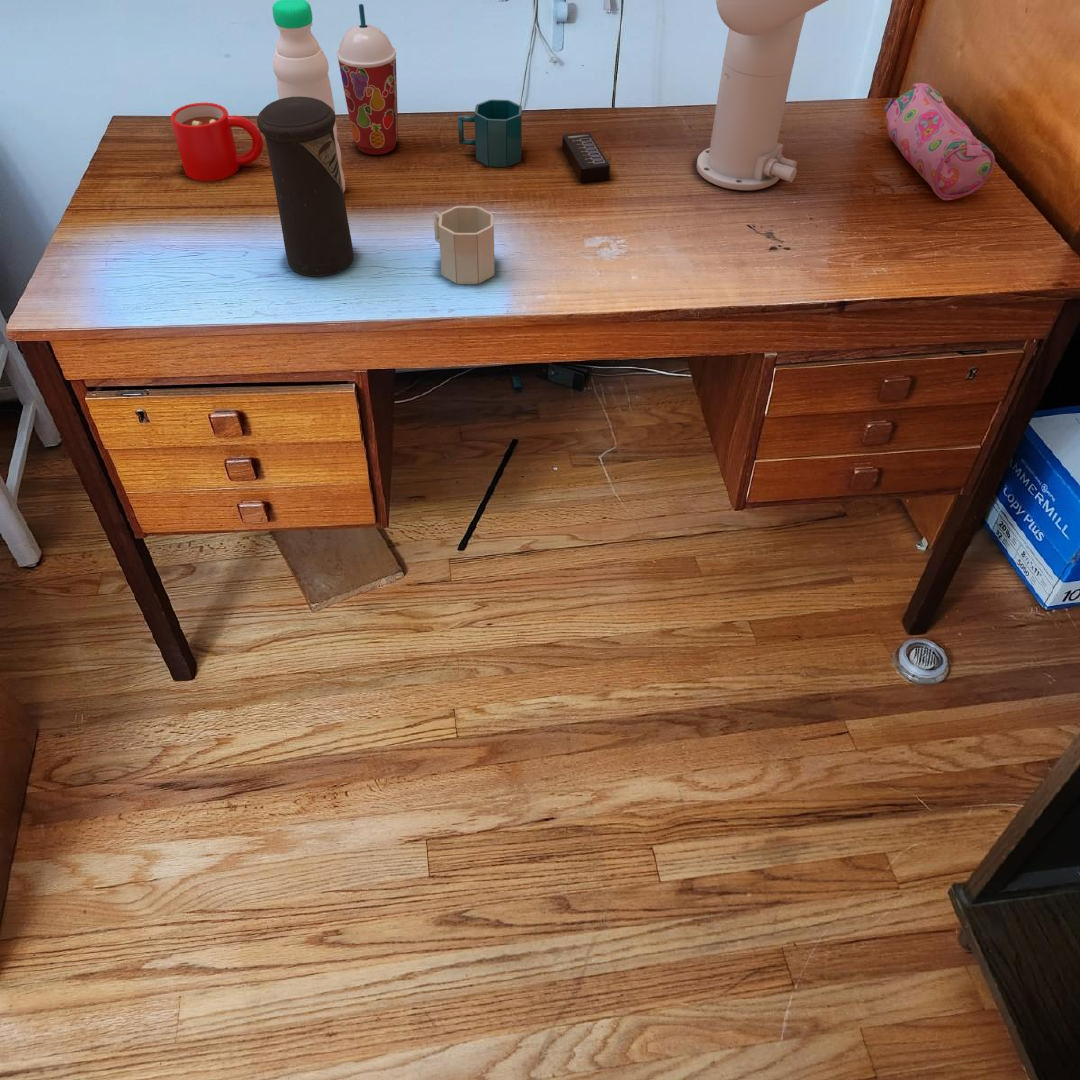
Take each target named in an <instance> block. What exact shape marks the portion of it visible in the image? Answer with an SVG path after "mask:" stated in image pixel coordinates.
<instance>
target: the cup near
mask: <svg viewBox="0 0 1080 1080" xmlns="http://www.w3.org/2000/svg"><path fill="white" fill-rule="evenodd" d="M494 215H495V214H494V213H492V212H490V211H488V210H486V209H485V208H483V207H480V206H478V205H455V206H453V207H451V208H448V209H447V210H445V211H443V212H440V211H439V210H435V211H433V215H432V216H433V229H434V241H435V242H436V243H438V244H439V255H440V271H441V272H440V273H441V276H442V277H443V278H445V279H447V280H449V281H451V282H452V283H454V284H457V285H478V284H481V283H483V282H485V281H487V280H489V279H490V278H492V277H494V276H495V271H496V270H495V263H496V262H495V218H494V217H495V216H494Z"/></svg>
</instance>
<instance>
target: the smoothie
mask: <svg viewBox="0 0 1080 1080" xmlns="http://www.w3.org/2000/svg"><path fill="white" fill-rule="evenodd" d="M358 13H359V20H360V21H359V22H360V24H357V25H354V26H353V27H351V28H349V29H348V30H347V31H346V32H345V34H344V35H343V37H342V39H341V41H340V44H339V48H338V50H337V51H336V58H337V63H338V66H339V72H340V77H341V81H342V88H343V92H344V98H345V104H346V108H347V113H348V119H349V124H350V129H351V134H352V140H353V142H354V143H355V144H356V145H357V148H358V150H359V151H360V152H362V153H364V154H366V155H372V156H377V155H384V154H387V153H390V152H392V151H393V150H394V149H395V148H396V145H397V144H396V143H397V141H398V139H399V114H398V82H397V79H398V77H397V57H396V56H397V49H395V48H394V46H393V45H392V43H391V41H390V39H389V38H388V36H387V34H385V33H384V32H383V31H382V30H381V28H378V27H376V26H374V25H371V24H366V17H365V16H366V15H365V7H364V4H363V3H359V4H358Z"/></svg>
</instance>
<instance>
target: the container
mask: <svg viewBox="0 0 1080 1080" xmlns="http://www.w3.org/2000/svg"><path fill="white" fill-rule="evenodd" d="M335 121H336V122H337V117H336V112H335V113H334V111H333V109H332V108H331V107H330V106H329V105H327V104H326V103H325V102H323V101H321V100H318V99H315V98H310V97H288V98H283V99H279V98H278V99H277V100H274V101H272V102H269V103H268V104H267V105H266V106H265V107H263V109H262V110H260V111H259V113H258V115H257V119H256V126H257V128H258V130H259V132H260V133H262V135H263V136H264V139H265V144H266V148H267V153H268V158H269V163H270V164H269V165H270V169H271V175H272V181H273V186H274V192H275V197H276V202H277V203H276V204H277V209H278V213H279V220H280V226H281V232H282V238H283V244H284V245H283V246H284V251H285V255H286V261H287V265H288V266H289V267H290V269H292V271H294V272H296V273H299V274H301V275H303V276H311V277H322V276H329V275H333V274H336V273H340V272H342V271H344V270H345V269H347V268H348V267H349V266H350V265H352V262H353V261H354V259H355V254H354V246H353V241H352V235H351V229H350V224H349V217H348V212H347V207H346V199H345V195H344V193H345V192H344V193H343V187H342V181H341V175H340V169H339V163H338V157H337V151H336V144H335V138H334V132H333V127H334V124H335Z"/></svg>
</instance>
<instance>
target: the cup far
mask: <svg viewBox="0 0 1080 1080" xmlns="http://www.w3.org/2000/svg"><path fill="white" fill-rule="evenodd" d="M465 123H474V139H470V138H465V127H464V124H465ZM457 129H458V130H457V131H458V144H459V145H460V146H475V160H476V161H477V162H479V163H481V164H483V165H485V166H486V167H492V168H494V167H495V168H508V167H509V168H510V166H513V165H515V164H518V163H520V162H522V154H523V106H522V105H520V104H518V103H516V102H514V101H512V100H510V99H492V98H491V99H488V100H485V101H483V102H480V103H477V104H476V105H475V108H474V115H458V116H457Z"/></svg>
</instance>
